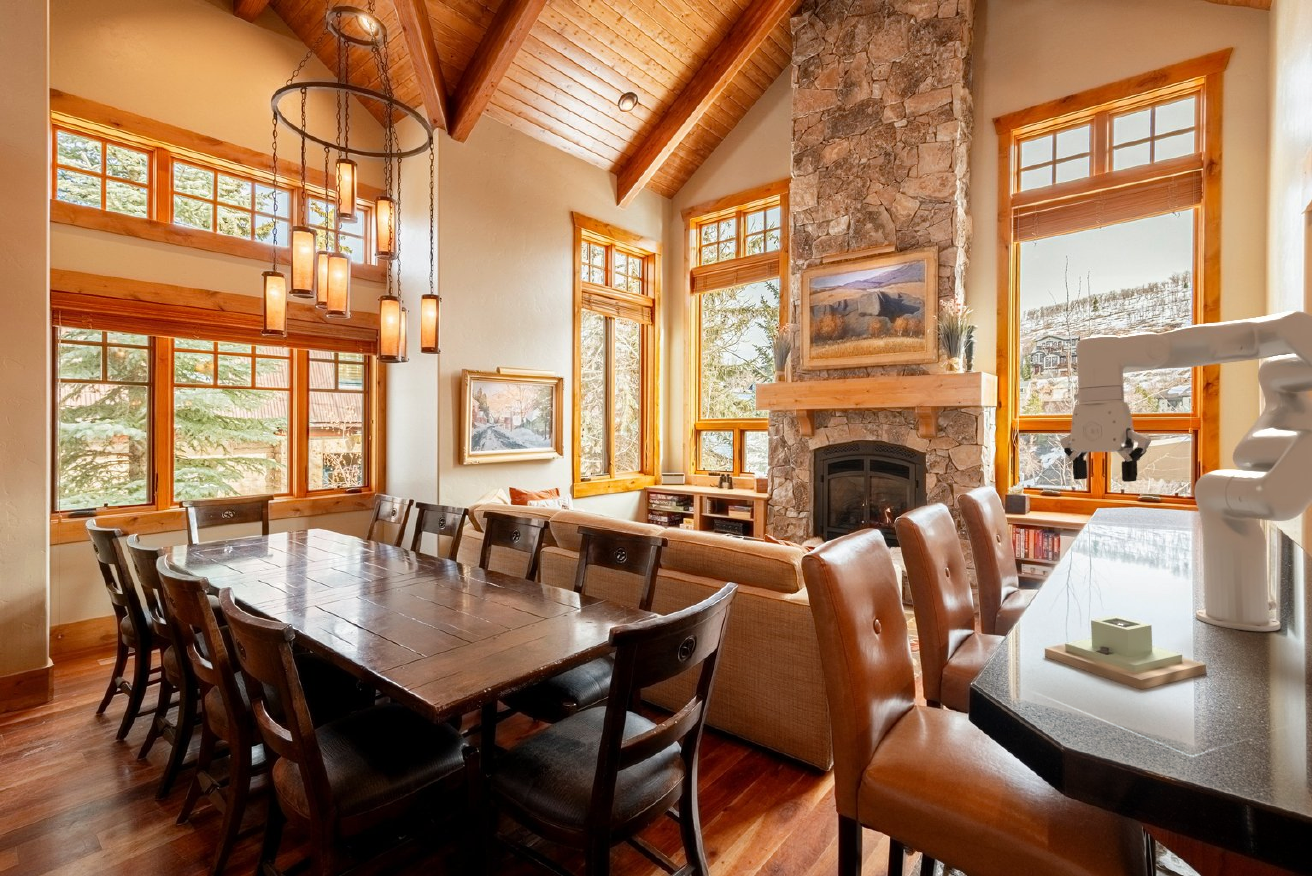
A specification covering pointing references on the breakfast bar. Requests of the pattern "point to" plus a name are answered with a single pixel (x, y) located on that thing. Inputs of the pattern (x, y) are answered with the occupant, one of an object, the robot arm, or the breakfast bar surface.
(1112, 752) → the breakfast bar surface
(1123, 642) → the flange
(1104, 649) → the pins
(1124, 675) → the base
